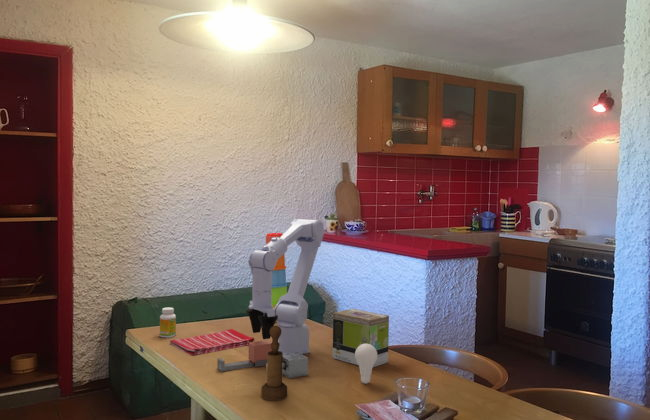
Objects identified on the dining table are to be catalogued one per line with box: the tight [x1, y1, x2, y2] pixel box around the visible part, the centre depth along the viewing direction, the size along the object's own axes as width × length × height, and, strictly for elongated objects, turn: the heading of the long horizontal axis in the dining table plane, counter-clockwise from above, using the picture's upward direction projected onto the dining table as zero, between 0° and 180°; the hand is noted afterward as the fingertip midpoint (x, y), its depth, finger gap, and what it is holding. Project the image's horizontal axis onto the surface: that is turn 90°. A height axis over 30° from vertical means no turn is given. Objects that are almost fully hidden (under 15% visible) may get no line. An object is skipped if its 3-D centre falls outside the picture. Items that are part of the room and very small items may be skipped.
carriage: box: [248, 339, 272, 367], centre depth 169 cm, size 6×4×6 cm
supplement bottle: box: [159, 306, 177, 339], centre depth 198 cm, size 5×5×10 cm
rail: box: [217, 357, 255, 373], centre depth 167 cm, size 18×3×3 cm, turn 120°
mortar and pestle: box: [260, 325, 288, 401], centre depth 144 cm, size 7×6×18 cm
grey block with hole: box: [282, 352, 309, 379], centre depth 161 cm, size 6×6×5 cm
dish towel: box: [169, 328, 255, 356], centre depth 190 cm, size 17×24×3 cm
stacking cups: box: [265, 232, 288, 323], centre depth 225 cm, size 10×10×35 cm
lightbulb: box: [355, 344, 377, 385], centre depth 154 cm, size 6×6×11 cm
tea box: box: [332, 308, 390, 369], centre depth 175 cm, size 15×10×15 cm, turn 47°
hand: (261, 335), depth 169 cm, fingers open, 7 cm apart
